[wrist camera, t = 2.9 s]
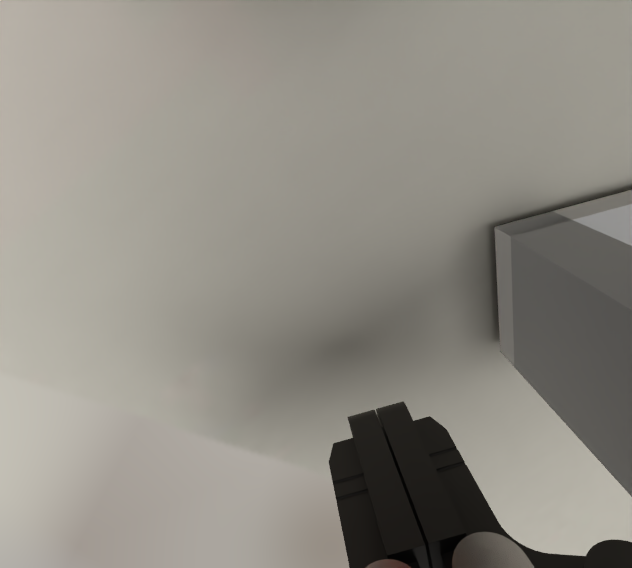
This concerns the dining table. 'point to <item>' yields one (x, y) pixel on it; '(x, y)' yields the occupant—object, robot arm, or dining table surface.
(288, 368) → the dining table surface
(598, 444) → the sled
